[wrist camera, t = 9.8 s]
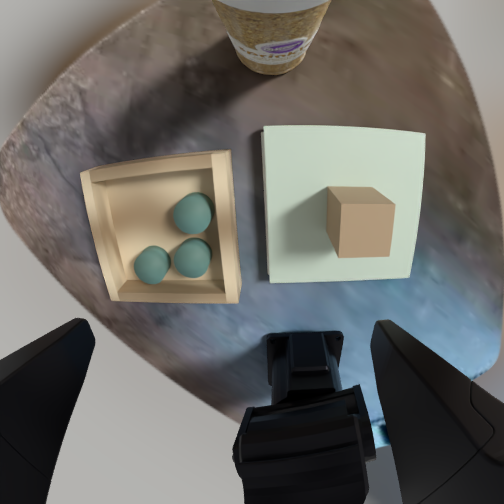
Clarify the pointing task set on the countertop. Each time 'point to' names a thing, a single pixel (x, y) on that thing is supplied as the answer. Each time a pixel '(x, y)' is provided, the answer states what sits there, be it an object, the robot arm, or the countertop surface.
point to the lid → (342, 202)
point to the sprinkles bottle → (271, 31)
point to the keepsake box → (166, 228)
